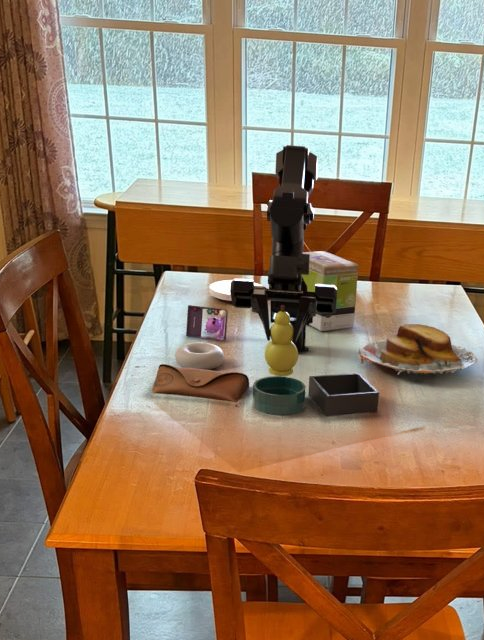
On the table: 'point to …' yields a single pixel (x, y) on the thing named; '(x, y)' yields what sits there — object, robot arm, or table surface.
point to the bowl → (279, 395)
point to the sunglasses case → (200, 383)
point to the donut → (199, 356)
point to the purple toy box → (212, 324)
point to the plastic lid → (223, 289)
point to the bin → (343, 394)
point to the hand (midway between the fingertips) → (281, 340)
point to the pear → (281, 346)
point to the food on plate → (418, 351)
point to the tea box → (343, 278)
